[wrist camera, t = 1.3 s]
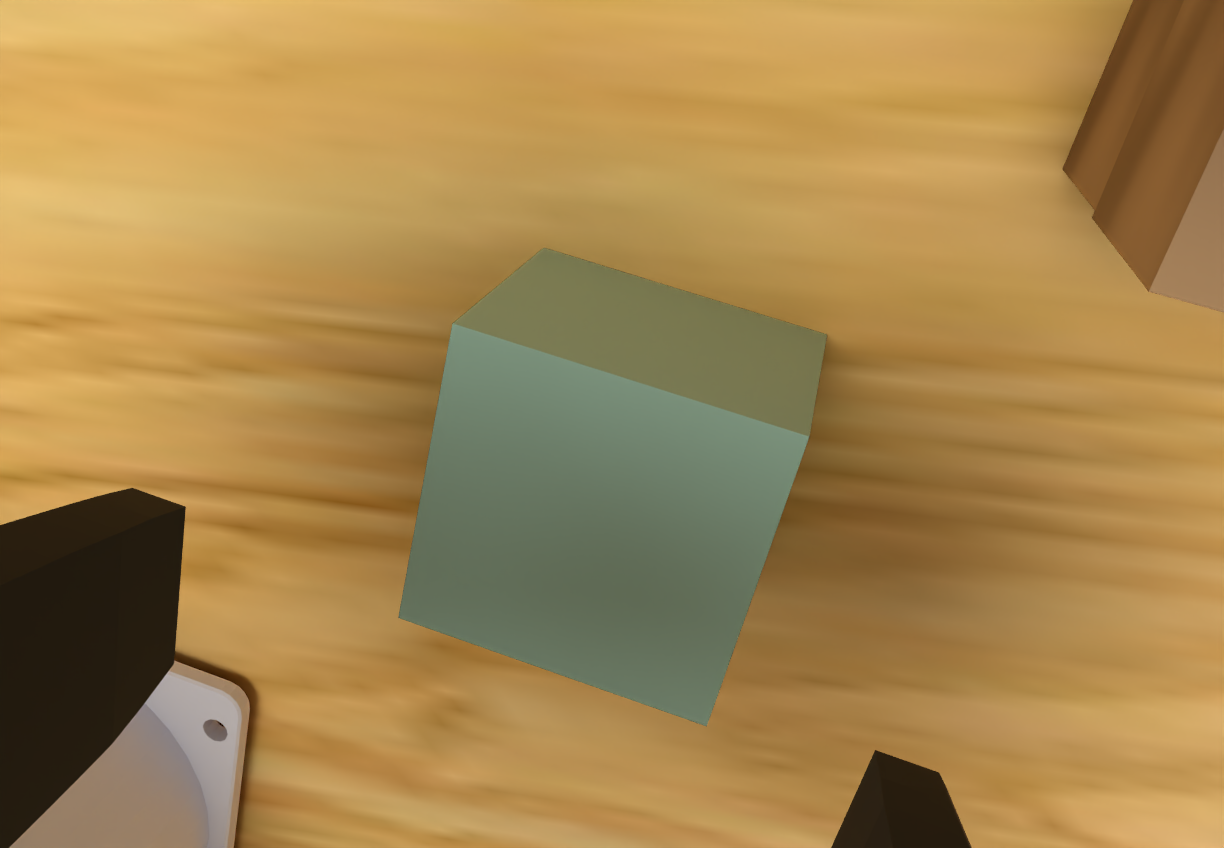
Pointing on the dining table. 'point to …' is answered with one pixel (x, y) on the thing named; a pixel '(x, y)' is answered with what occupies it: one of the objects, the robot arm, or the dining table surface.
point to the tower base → (1119, 95)
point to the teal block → (609, 477)
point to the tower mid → (1175, 167)
